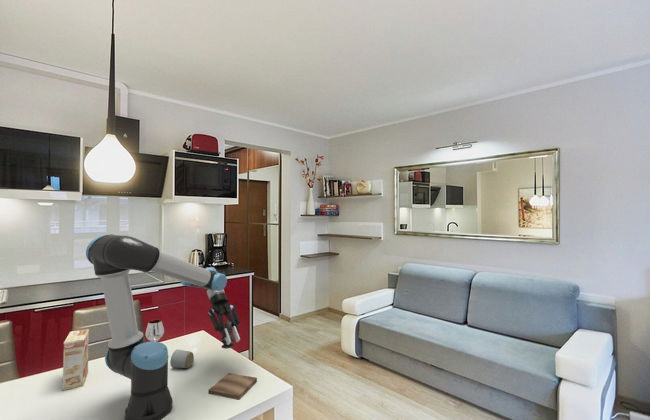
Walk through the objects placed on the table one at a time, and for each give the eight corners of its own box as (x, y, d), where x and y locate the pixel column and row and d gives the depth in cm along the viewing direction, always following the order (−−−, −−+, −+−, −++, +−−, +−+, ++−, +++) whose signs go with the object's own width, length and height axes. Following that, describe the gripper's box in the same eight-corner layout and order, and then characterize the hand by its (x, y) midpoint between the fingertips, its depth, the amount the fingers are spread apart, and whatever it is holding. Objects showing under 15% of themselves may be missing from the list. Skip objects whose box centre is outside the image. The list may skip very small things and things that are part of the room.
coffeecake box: (83, 386, 130) (84, 339, 130) (61, 391, 126) (62, 342, 127) (88, 371, 143) (89, 328, 143) (69, 375, 139) (69, 331, 140)
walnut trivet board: (239, 399, 121) (239, 395, 121) (208, 393, 125) (208, 389, 125) (256, 381, 134) (256, 377, 134) (228, 376, 138) (228, 372, 138)
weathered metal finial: (237, 346, 141) (237, 319, 141) (225, 350, 136) (226, 322, 137) (229, 342, 145) (230, 316, 145) (218, 346, 140) (218, 319, 141)
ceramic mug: (186, 371, 143) (186, 354, 143) (169, 370, 144) (169, 353, 144) (198, 361, 153) (198, 345, 153) (182, 360, 154) (182, 344, 154)
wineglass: (158, 361, 152) (158, 324, 152) (141, 361, 152) (142, 324, 152) (166, 354, 160) (167, 318, 161) (151, 354, 160) (151, 318, 161)
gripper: (230, 298, 157) (247, 341, 145) (197, 304, 145) (212, 351, 133) (236, 289, 153) (253, 332, 141) (202, 295, 141) (218, 343, 129)
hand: (233, 342), depth 137 cm, fingers closed on weathered metal finial, 4 cm apart
